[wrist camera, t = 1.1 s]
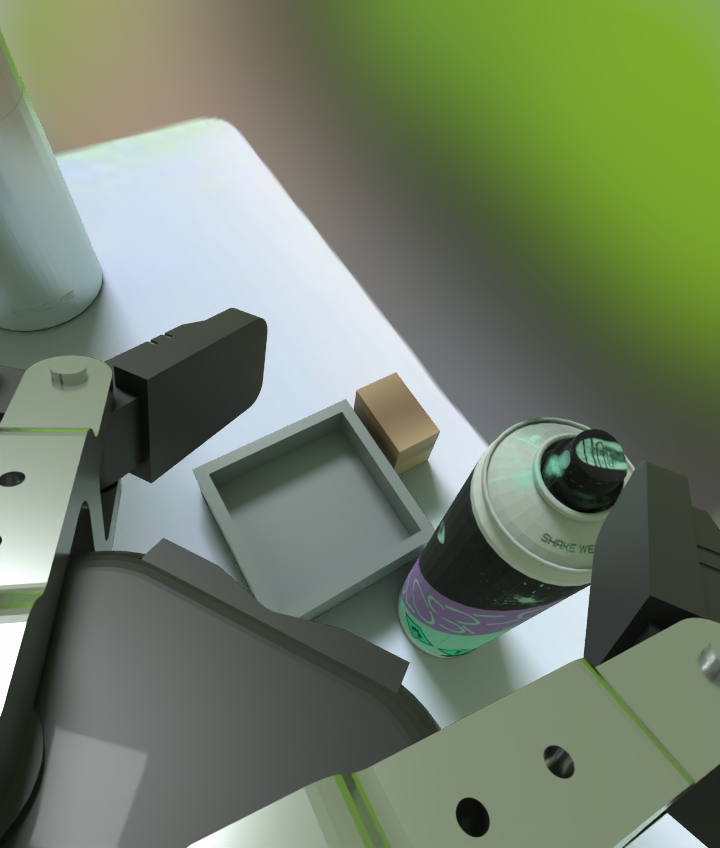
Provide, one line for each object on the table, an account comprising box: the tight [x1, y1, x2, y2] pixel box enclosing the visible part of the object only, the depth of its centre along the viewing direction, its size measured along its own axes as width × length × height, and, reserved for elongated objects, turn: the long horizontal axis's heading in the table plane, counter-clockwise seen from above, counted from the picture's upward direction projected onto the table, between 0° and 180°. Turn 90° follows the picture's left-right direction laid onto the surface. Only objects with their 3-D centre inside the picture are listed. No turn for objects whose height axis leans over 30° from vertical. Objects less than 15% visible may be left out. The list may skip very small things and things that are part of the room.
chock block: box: [354, 373, 440, 475], centre depth 36 cm, size 5×3×4 cm, turn 31°
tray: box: [193, 399, 435, 621], centre depth 33 cm, size 10×10×3 cm
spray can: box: [398, 418, 635, 658], centre depth 24 cm, size 6×6×20 cm
